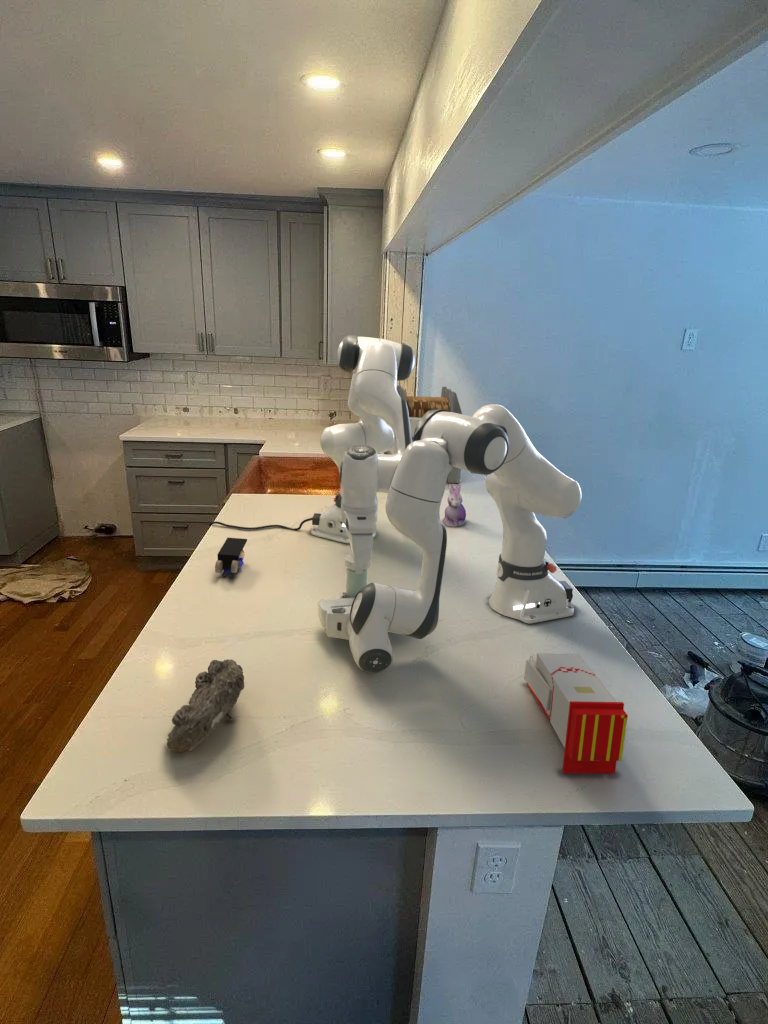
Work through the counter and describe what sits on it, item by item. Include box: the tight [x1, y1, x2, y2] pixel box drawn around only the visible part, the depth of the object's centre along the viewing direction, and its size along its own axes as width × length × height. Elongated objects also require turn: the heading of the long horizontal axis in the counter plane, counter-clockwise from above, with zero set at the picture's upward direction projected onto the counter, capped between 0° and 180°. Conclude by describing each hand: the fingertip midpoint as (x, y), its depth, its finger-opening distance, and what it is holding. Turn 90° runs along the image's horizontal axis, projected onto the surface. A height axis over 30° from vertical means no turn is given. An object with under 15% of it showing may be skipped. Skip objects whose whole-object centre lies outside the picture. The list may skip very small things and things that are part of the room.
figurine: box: [443, 483, 467, 528], centre depth 210 cm, size 9×10×15 cm
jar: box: [345, 567, 369, 598], centre depth 143 cm, size 5×5×15 cm
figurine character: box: [214, 537, 248, 578], centre depth 166 cm, size 7×8×15 cm
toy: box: [523, 652, 628, 775], centre depth 110 cm, size 12×13×30 cm
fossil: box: [166, 658, 245, 754], centre depth 106 cm, size 22×10×15 cm
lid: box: [344, 553, 371, 571], centre depth 141 cm, size 6×6×2 cm
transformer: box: [383, 384, 463, 484], centre depth 268 cm, size 34×33×41 cm
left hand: (357, 566), depth 141 cm, fingers closed on lid, 6 cm apart
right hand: (355, 594), depth 145 cm, fingers closed on jar, 5 cm apart
